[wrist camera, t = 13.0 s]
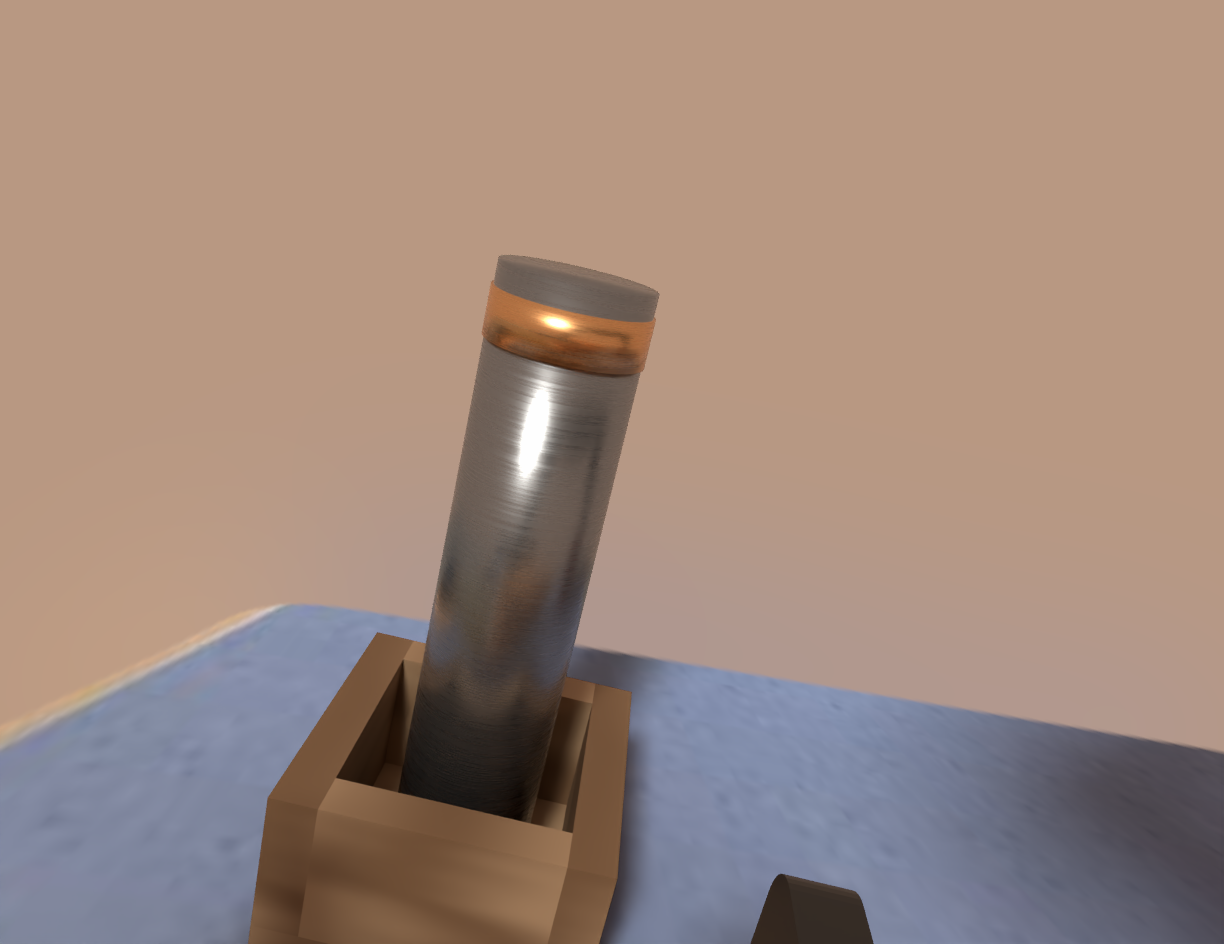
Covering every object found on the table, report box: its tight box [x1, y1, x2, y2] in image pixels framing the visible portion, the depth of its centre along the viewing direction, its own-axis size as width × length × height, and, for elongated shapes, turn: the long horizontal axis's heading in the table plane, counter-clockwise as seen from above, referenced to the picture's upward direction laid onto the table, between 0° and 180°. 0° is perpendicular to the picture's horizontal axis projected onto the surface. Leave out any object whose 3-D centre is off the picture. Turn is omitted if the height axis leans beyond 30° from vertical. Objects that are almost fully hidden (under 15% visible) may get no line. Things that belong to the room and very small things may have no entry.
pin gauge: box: [398, 255, 659, 823], centre depth 20 cm, size 3×3×14 cm
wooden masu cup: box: [248, 632, 632, 944], centre depth 22 cm, size 7×7×4 cm
